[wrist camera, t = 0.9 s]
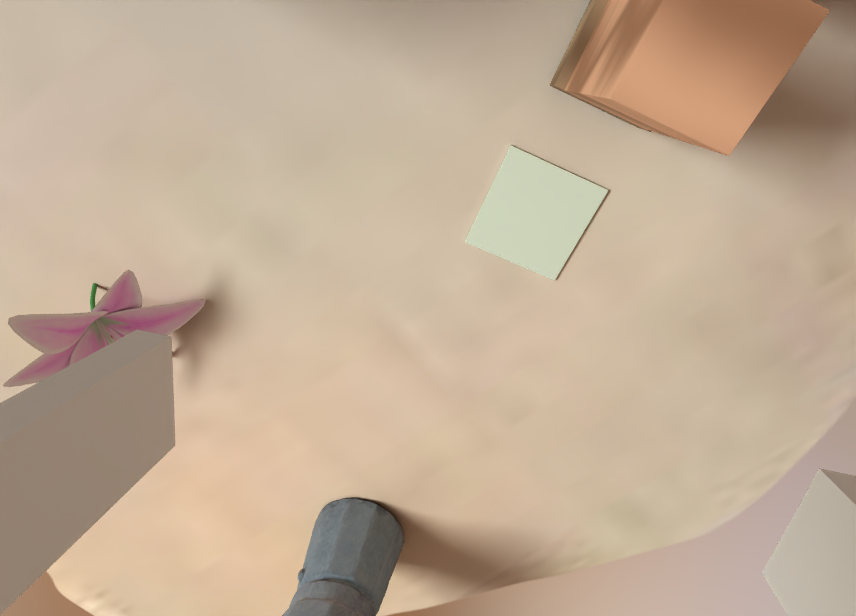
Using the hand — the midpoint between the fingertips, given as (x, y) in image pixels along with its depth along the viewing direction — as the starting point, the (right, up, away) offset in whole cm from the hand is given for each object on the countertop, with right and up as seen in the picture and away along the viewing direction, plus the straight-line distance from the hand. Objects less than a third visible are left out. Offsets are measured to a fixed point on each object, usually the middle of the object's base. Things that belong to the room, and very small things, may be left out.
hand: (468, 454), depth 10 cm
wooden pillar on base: (+12, +21, +15) cm, 29 cm away
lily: (-24, +3, +29) cm, 37 cm away
